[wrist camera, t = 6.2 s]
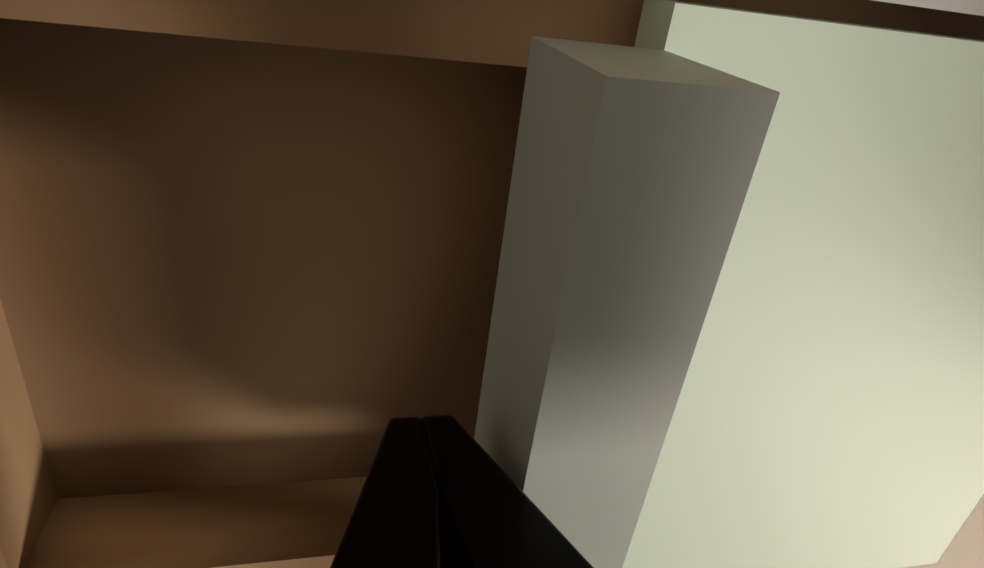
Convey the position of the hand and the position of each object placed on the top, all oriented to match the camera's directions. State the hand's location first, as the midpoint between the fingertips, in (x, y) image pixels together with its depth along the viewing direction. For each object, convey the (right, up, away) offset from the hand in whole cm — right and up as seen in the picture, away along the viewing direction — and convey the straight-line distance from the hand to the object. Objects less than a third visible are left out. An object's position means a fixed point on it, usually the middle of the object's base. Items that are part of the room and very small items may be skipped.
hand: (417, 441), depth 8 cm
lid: (+6, +1, +3) cm, 7 cm away
